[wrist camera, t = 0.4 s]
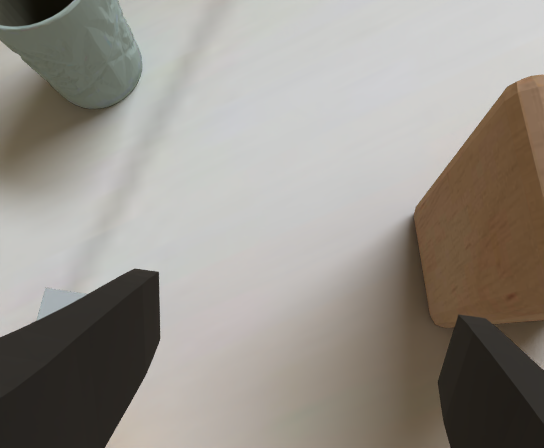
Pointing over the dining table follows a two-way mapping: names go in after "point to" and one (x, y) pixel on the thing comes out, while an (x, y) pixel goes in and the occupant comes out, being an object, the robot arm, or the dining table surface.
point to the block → (489, 217)
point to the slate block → (56, 300)
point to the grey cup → (75, 47)
